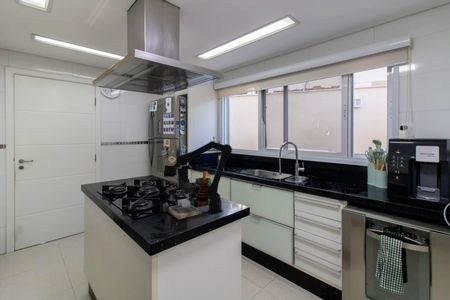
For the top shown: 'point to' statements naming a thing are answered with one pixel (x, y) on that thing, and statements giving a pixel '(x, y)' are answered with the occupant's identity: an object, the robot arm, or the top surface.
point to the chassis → (183, 213)
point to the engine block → (183, 204)
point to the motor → (202, 189)
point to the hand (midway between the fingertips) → (183, 204)
